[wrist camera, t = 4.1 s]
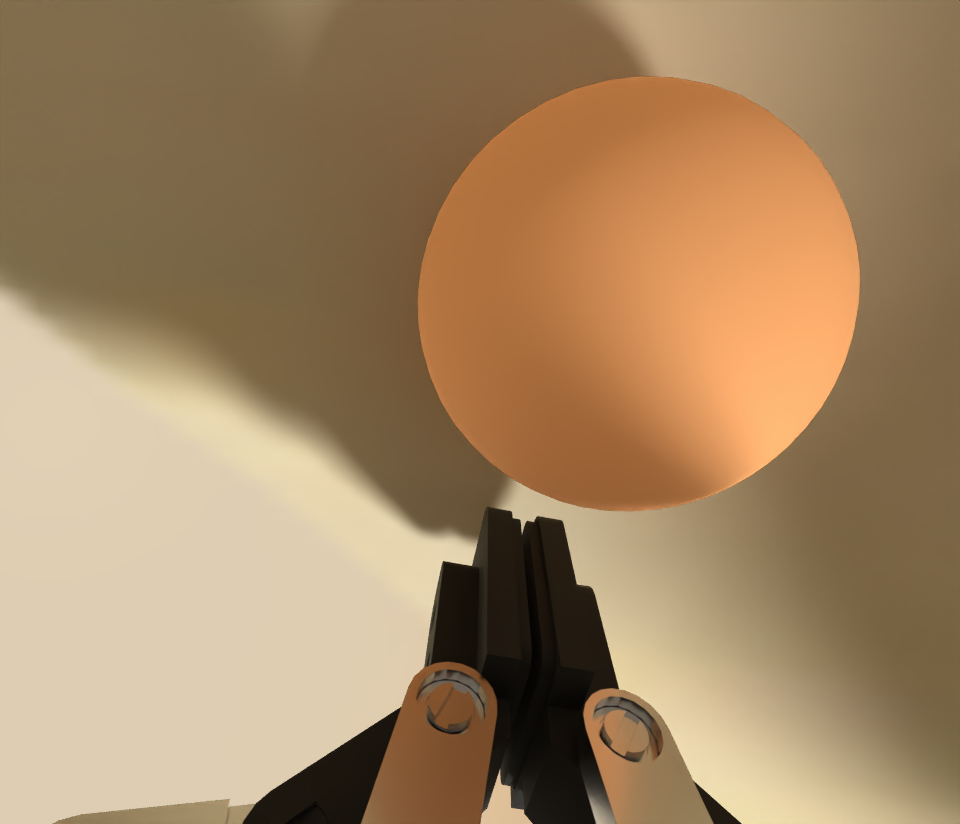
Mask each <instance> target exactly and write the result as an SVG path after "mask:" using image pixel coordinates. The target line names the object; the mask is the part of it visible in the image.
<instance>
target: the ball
mask: <svg viewBox="0 0 960 824" xmlns="http://www.w3.org/2000/svg"><path fill="white" fill-rule="evenodd" d="M859 289H860V269H859V260H858V250H857V244H856V240H855V236H854V232H853V229H852V225H851V221H850V218H849V215H848V212H847V210H846V207H845V205H844V203H843V200H842V198H841V196H840V194H839V191H838V189H837V187H836V184H835V182H834V181H833V179H832V177H831V176H830V174H829V173H828V171H827V170H826V168H825V167H824V165H823V163H822V162H821V160H820V159H819V157H818V156H817V155H816V154H815V153H814V152H813V151H812V150H811V148H810V147H809V146H808V145H807V144H806V143H805V142H804V141H803V140H802V138H801V137H800V136H799V135H798V134H796V133H795V132H794V131H793V130H791V129H790V128H789V127H788V126H786V125H785V124H784V123H783V122H781V121H780V120H779V119H778V118H776V117H775V116H774V115H773V114H771V113H770V112H769V111H768V110H766V109H764V108H763V107H761V106H759V105H757V104H755V103H754V102H752V101H750V100H748V99H746V98H745V97H743V96H741V95H739V94H736V93H733V92H730V91H727V90H725V89H722V88H719V87H716V86H714V85H711V84H705V83H700V82H695V81H690V80H684V79H679V78H672V77H645V76H638V77H629V78H621V79H613V80H606V81H602V82H599V83H595V84H591V85H588V86H584V87H580V88H576V89H574V90H572V91H569V92H567V93H565V94H562V95H560V96H558V97H555V98H553V99H551V100H548V101H546V102H545V103H543V104H541V105H540V106H538V107H536V108H535V109H533V110H531V111H530V112H528V113H526V114H525V115H523V116H521V117H520V118H518V119H517V120H515V121H514V122H513V123H512V124H510V125H509V126H508V127H507V128H505V129H504V130H503V131H502V132H500V133H499V134H498V135H497V136H495V137H494V138H493V139H492V140H491V141H490V142H489V143H488V144H487V145H486V146H485V147H484V148H483V149H482V150H481V151H480V152H479V153H478V154H477V156H476V157H475V158H474V159H473V160H472V161H471V162H470V163H469V165H468V166H467V168H466V169H465V170H464V172H463V173H462V174H461V176H460V177H459V178H458V180H457V181H456V182H455V184H454V185H453V187H452V189H451V191H450V193H449V194H448V196H447V198H446V200H445V202H444V203H443V205H442V207H441V209H440V211H439V213H438V216H437V218H436V221H435V223H434V226H433V228H432V231H431V234H430V236H429V239H428V242H427V246H426V250H425V254H424V258H423V262H422V266H421V272H420V281H419V289H418V324H419V331H420V338H421V344H422V349H423V353H424V356H425V360H426V363H427V367H428V370H429V374H430V377H431V380H432V382H433V384H434V387H435V389H436V391H437V394H438V396H439V398H440V401H441V402H442V404H443V406H444V407H445V409H446V411H447V412H448V414H449V416H450V417H451V419H452V421H453V422H454V424H455V425H456V426H457V427H458V428H459V430H460V431H461V432H462V433H463V435H464V436H465V437H466V438H467V440H468V441H469V442H470V443H471V444H472V445H473V446H474V448H476V449H477V450H478V451H479V452H480V453H481V454H482V455H483V456H484V457H485V458H486V459H487V460H488V461H489V462H490V463H491V464H493V465H494V466H495V467H497V468H498V469H499V470H501V471H502V472H503V473H505V474H506V475H507V476H509V477H510V478H512V479H514V480H516V481H517V482H519V483H521V484H523V485H525V486H526V487H528V488H530V489H532V490H534V491H537V492H539V493H541V494H544V495H546V496H549V497H551V498H554V499H556V500H559V501H562V502H565V503H569V504H573V505H576V506H580V507H586V508H592V509H599V510H608V511H641V510H655V509H662V508H668V507H673V506H678V505H683V504H686V503H690V502H693V501H696V500H700V499H703V498H706V497H708V496H711V495H713V494H715V493H718V492H720V491H723V490H725V489H727V488H729V487H731V486H733V485H735V484H737V483H738V482H740V481H742V480H744V479H746V478H748V477H749V476H751V475H752V474H754V473H755V472H756V471H758V470H759V469H761V468H762V467H764V466H765V465H767V464H768V463H769V462H771V461H772V460H773V459H774V458H775V457H776V456H778V455H779V454H780V453H781V452H782V451H784V450H785V449H786V448H787V447H788V446H789V445H790V444H791V443H792V442H793V441H794V440H795V439H796V438H797V437H798V436H799V435H800V433H801V432H802V431H803V430H804V429H805V428H806V427H807V426H808V424H809V423H810V422H811V420H812V419H813V418H814V416H815V415H816V414H817V412H818V411H819V410H820V408H821V407H822V405H823V404H824V402H825V400H826V399H827V397H828V395H829V394H830V392H831V390H832V389H833V387H834V385H835V383H836V381H837V378H838V376H839V374H840V372H841V369H842V367H843V365H844V363H845V360H846V357H847V354H848V350H849V347H850V344H851V341H852V337H853V333H854V328H855V323H856V317H857V311H858V305H859Z"/></svg>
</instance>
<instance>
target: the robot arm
mask: <svg viewBox="0 0 960 824" xmlns="http://www.w3.org/2000/svg"><path fill="white" fill-rule="evenodd" d="M499 770H500V775H501V783H502V785H508V786H511V808H516V809H524V814H525V815H526V816H527V817H528V819H529V820H530V821H531V822H532V823H533V824H741V823H740V822H739V821H738V820H737V819H736V818H735V817H733V816H732V815H731V814H730V813H729V812H728V811H727V810H726V809H724V808H723V807H722V806H721V805H720V804H719V803H718V802H717V801H716V800H714V799H713V798H712V797H711V796H710V795H709V794H708V793H707V792H705V791H704V790H703V789H702V788H701V787H700V786H699V785H698V784H697V783H695V782H694V781H693V779H692V777H691V775H690V773H689V771H688V769H687V766H686V764H685V762H684V760H683V758H682V756H681V754H680V752H679V750H678V747H677V745H676V743H675V741H674V739H673V737H672V735H671V733H670V730H669V728H668V727H667V725H666V724H665V722H664V720H663V719H662V717H661V716H660V715H659V713H658V712H657V711H656V710H655V709H654V708H653V707H652V706H651V705H650V704H648V703H647V702H646V701H644V700H643V699H641V698H640V697H638V696H636V695H634V694H632V693H629V692H627V691H625V690H619V687H618V683H617V680H616V676H615V672H614V668H613V664H612V660H611V656H610V652H609V648H608V644H607V640H606V637H605V633H604V629H603V625H602V621H601V617H600V613H599V609H598V605H597V601H596V597H595V594H594V591H593V589H592V588H591V587H589V586H583V585H577V584H576V579H575V575H574V570H573V565H572V561H571V556H570V551H569V547H568V542H567V538H566V533H565V528H564V524H563V521H561V520H556V519H551V518H545V517H540V516H537V517H536V519H535V521H534V522H530V521H527V522H526V524H525V526H524V530H523V534H522V532H521V522H520V520H519V519H514V518H512V512H511V511H507V510H501V509H496V508H490V507H487V508H486V511H485V515H484V519H483V523H482V527H481V531H480V535H479V539H478V544H477V548H476V552H475V556H474V560H473V564H472V566H468V565H462V564H457V563H451V562H445V561H443V563H442V567H441V571H440V576H439V581H438V585H437V590H436V595H435V600H434V606H433V612H432V617H431V624H430V630H429V637H428V645H427V652H426V659H425V666H424V668H423V669H422V670H421V671H420V672H419V673H418V674H416V675H415V676H414V678H413V680H412V682H411V683H410V685H409V687H408V690H407V693H406V696H405V698H404V701H403V704H402V707H400V708H399V709H397V710H396V711H394V712H393V713H391V714H389V715H388V716H386V717H385V718H383V719H382V720H380V721H378V722H377V723H375V724H374V725H372V726H371V727H369V728H368V729H366V730H365V731H363V732H362V733H360V734H358V735H357V736H355V737H354V738H352V739H351V740H349V741H348V742H346V743H344V744H343V745H341V746H340V747H338V748H337V749H335V750H334V751H332V752H330V753H329V754H327V755H326V756H324V757H323V758H321V759H320V760H318V761H317V762H315V763H313V764H312V765H310V766H309V767H307V768H306V769H304V770H303V771H301V772H300V773H298V774H297V775H295V776H293V777H292V778H290V779H289V780H287V781H286V782H284V783H282V784H281V785H279V786H278V787H276V788H275V789H273V790H272V791H270V792H269V793H268V794H267V795H266V796H265V797H263V798H262V799H261V800H260V801H258V802H257V803H256V804H250V805H240V806H232V807H230V799H226V800H215V801H206V802H196V803H186V804H177V805H167V806H157V807H149V808H138V809H129V810H119V811H109V812H100V813H90V814H81V815H78V816H74V817H70V818H66V819H62V820H59V821H57V822H55V823H53V824H480V822H481V815H482V813H483V811H484V810H485V809H487V807H488V804H489V801H490V798H491V794H492V791H493V788H494V785H495V782H496V779H497V776H498V773H499Z"/></svg>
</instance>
